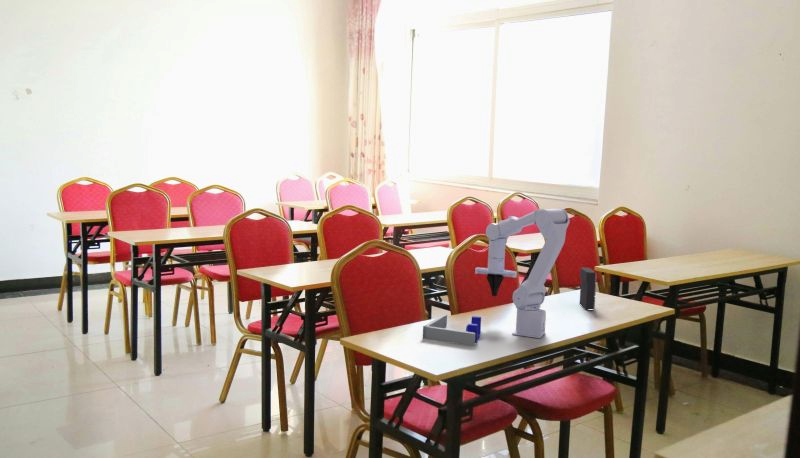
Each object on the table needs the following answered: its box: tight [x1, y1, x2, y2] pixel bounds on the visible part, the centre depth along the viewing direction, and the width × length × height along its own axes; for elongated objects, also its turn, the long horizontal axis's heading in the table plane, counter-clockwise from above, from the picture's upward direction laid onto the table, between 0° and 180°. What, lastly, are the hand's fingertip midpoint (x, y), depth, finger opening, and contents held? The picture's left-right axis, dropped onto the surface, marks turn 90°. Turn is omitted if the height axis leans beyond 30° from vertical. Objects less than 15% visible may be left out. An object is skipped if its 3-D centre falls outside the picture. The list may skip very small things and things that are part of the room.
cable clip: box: [465, 315, 482, 344], centre depth 238 cm, size 12×4×6 cm, turn 168°
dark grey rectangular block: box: [579, 267, 597, 310], centre depth 288 cm, size 11×4×15 cm, turn 179°
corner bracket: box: [422, 313, 476, 347], centre depth 241 cm, size 17×19×4 cm
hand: (494, 295), depth 257 cm, fingers closed
